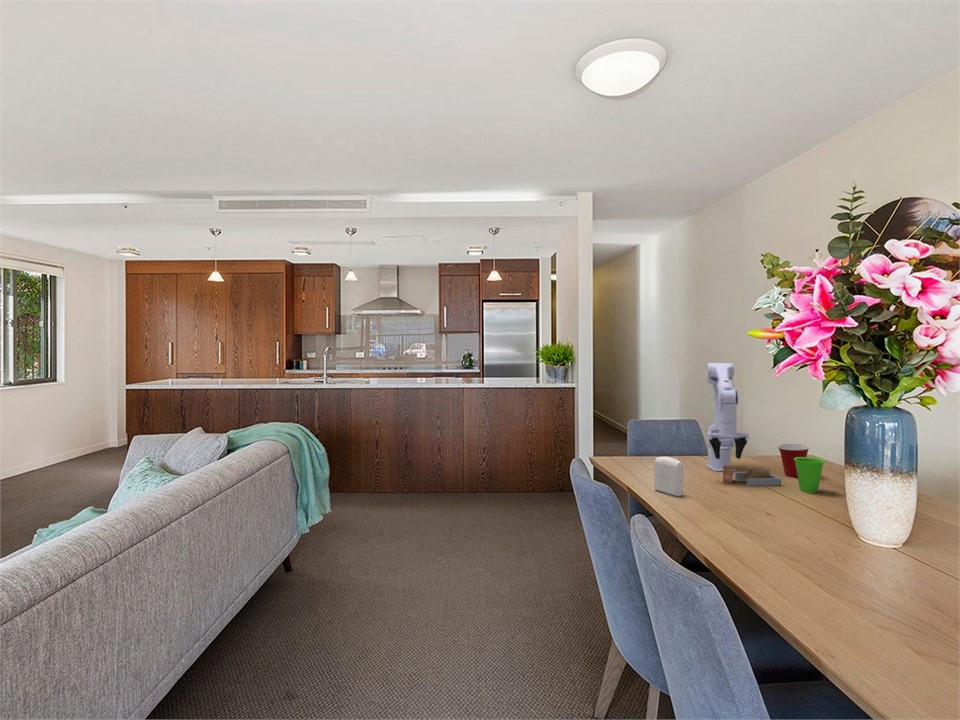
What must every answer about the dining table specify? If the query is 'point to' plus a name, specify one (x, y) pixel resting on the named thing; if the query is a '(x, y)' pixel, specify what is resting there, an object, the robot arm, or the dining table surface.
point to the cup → (809, 473)
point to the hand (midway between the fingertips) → (727, 458)
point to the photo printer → (669, 476)
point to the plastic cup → (792, 457)
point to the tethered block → (750, 473)
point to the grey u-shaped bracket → (759, 479)
